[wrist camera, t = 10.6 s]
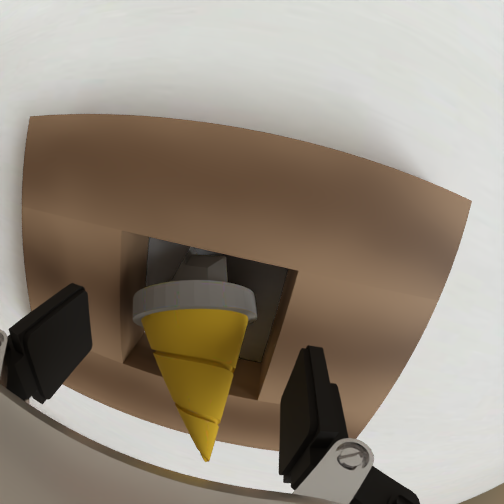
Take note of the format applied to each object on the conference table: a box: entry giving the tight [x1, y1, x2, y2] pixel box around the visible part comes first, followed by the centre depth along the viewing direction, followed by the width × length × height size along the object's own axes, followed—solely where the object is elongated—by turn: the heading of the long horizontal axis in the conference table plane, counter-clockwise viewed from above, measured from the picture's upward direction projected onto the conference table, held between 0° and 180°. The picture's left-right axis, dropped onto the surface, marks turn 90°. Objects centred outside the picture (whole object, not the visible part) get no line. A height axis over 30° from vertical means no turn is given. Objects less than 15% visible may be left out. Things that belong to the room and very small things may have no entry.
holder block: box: [22, 114, 472, 451], centre depth 13 cm, size 16×20×3 cm
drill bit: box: [133, 247, 257, 462], centre depth 11 cm, size 5×5×10 cm
